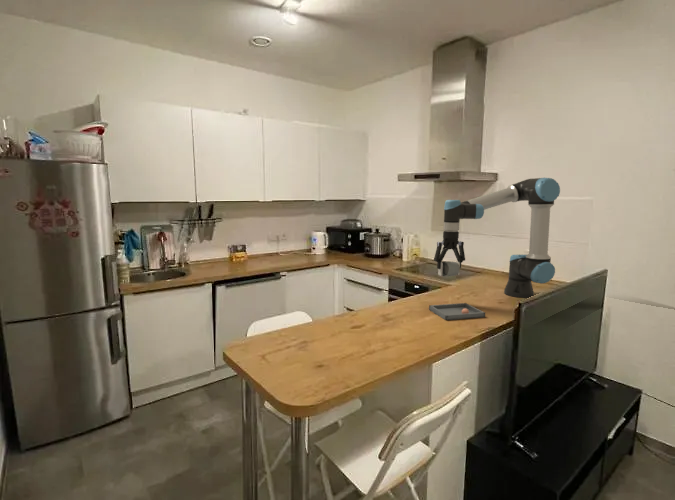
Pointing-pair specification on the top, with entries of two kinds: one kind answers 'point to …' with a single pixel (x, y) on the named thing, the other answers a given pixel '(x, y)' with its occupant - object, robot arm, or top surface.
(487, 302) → the top surface
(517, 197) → the robot arm
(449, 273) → the ceramic mug
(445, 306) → the tray
